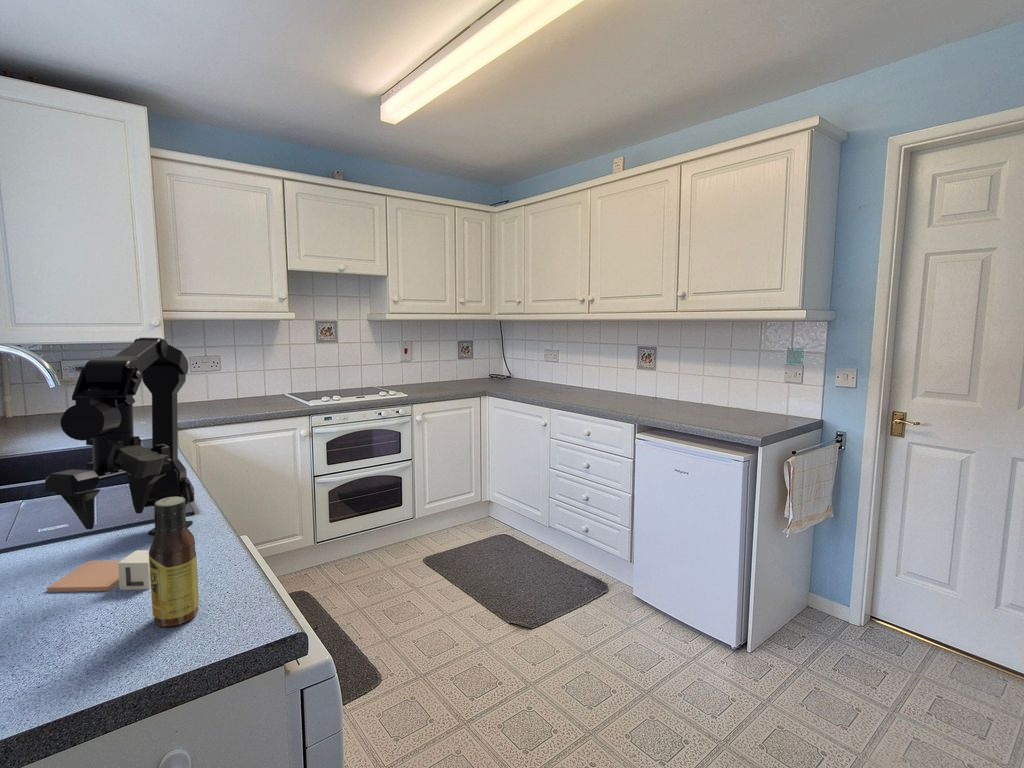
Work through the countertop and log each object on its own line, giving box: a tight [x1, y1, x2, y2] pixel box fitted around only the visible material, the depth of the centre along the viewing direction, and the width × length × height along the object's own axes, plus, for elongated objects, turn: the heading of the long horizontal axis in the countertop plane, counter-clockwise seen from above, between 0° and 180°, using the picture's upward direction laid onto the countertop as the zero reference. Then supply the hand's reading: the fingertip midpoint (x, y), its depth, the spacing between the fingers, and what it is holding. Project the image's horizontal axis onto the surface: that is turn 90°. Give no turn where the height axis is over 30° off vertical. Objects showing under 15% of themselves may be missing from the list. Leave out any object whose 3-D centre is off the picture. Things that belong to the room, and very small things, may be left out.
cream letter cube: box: [118, 549, 151, 591], centre depth 94 cm, size 5×5×5 cm
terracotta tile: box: [46, 559, 123, 593], centre depth 96 cm, size 10×10×1 cm
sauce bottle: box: [148, 497, 199, 628], centre depth 82 cm, size 6×6×20 cm
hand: (115, 520), depth 91 cm, fingers open, 9 cm apart
